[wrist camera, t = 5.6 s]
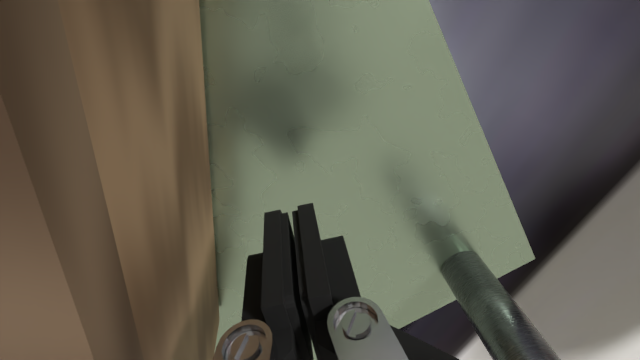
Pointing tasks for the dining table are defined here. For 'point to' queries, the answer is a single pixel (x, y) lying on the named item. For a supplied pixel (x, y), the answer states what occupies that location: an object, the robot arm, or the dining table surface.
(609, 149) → the dining table surface
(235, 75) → the gate frame
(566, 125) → the dining table surface
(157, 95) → the gate
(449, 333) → the dining table surface
